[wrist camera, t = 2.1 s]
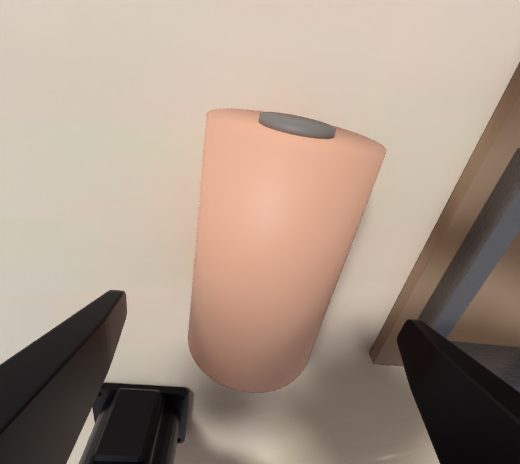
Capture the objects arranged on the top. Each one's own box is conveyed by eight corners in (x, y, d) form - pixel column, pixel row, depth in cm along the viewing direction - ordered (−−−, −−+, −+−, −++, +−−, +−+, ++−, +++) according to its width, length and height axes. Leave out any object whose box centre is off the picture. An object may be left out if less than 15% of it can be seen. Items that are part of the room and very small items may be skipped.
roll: (295, 301, 18) (321, 398, 13) (195, 293, 17) (178, 393, 12) (351, 120, 13) (429, 159, 8) (212, 95, 12) (197, 120, 7)
